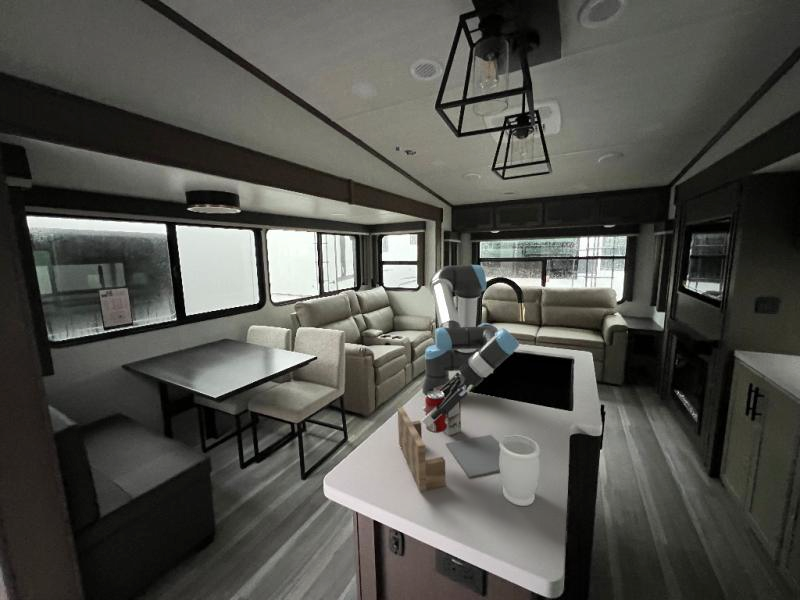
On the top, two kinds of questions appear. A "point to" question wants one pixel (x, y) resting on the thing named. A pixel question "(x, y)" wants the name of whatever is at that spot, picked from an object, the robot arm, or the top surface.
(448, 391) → the robot arm
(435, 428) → the soda can
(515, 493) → the jar
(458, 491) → the top surface
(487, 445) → the rubber mat
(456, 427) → the coffee box
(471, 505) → the top surface
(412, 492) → the top surface
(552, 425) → the top surface
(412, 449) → the walnut bay
